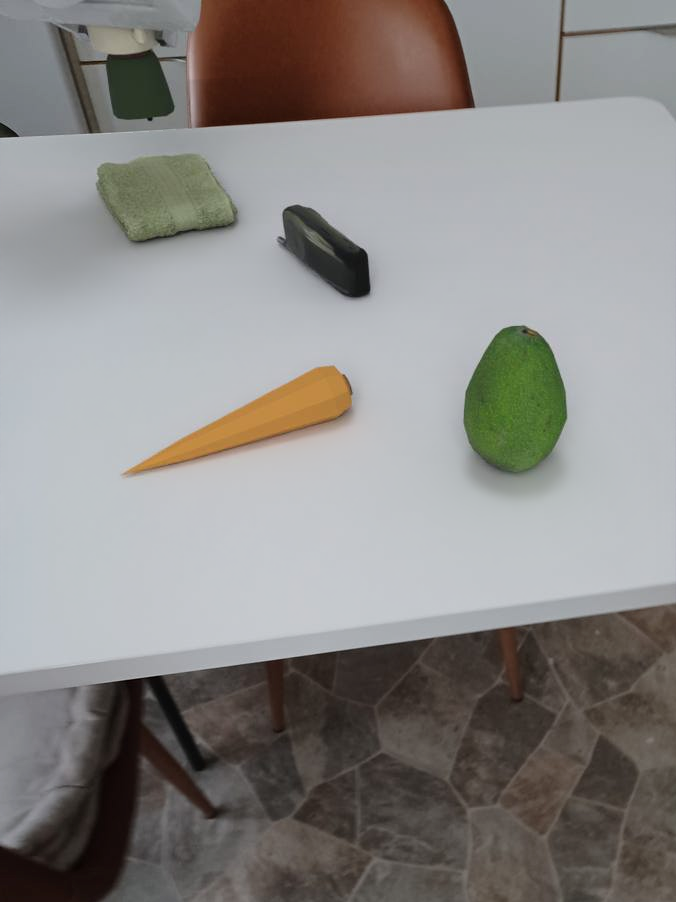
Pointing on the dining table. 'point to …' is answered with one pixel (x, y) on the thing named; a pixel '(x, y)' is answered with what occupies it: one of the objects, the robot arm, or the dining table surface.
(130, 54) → the character mug
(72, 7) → the robot arm
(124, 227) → the washcloth
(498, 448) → the avocado
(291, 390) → the carrot
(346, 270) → the black stapler
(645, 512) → the dining table surface
